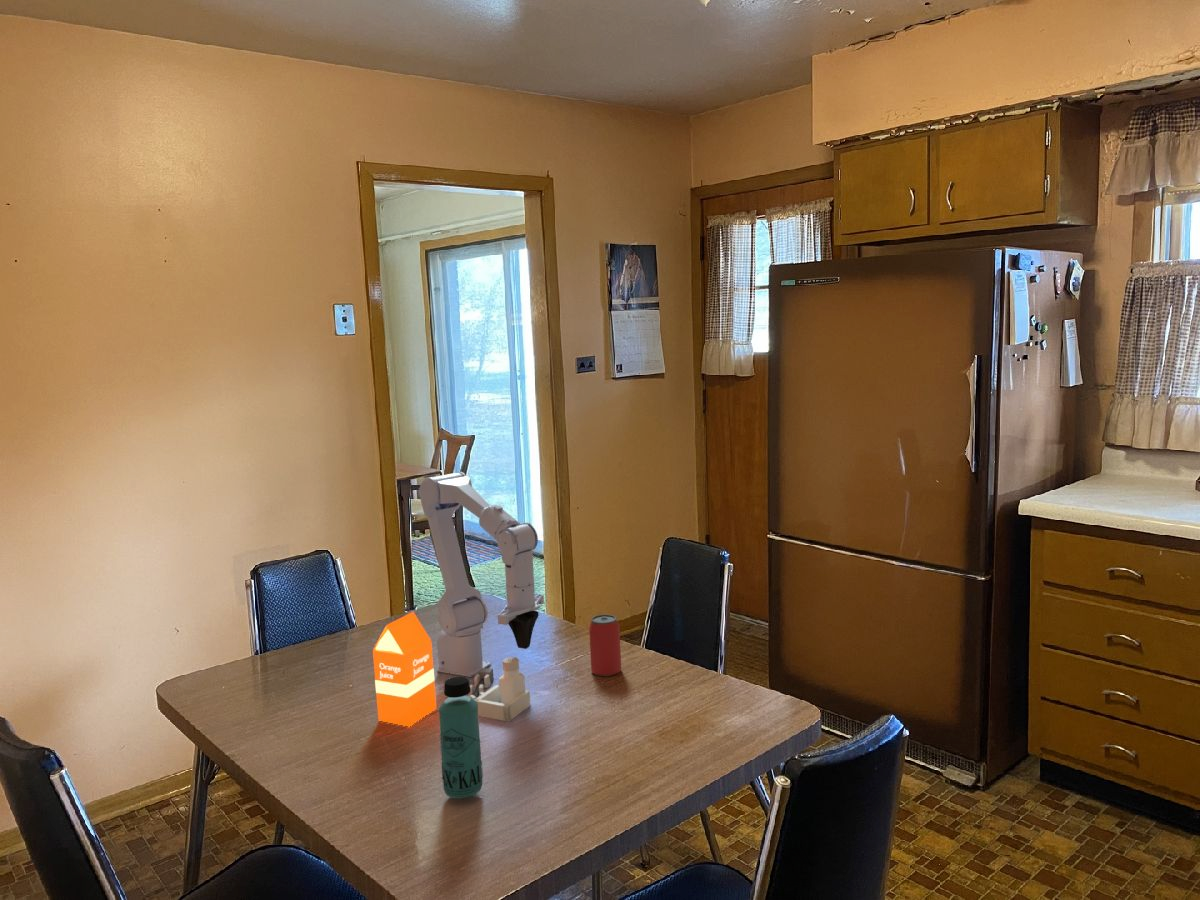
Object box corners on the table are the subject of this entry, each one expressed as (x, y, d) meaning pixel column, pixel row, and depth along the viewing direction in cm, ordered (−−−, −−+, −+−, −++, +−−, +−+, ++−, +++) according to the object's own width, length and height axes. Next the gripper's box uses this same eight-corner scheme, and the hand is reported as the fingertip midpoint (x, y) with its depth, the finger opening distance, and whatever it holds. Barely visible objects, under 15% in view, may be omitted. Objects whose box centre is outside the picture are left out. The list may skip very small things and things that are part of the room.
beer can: (622, 665, 194) (620, 613, 192) (620, 677, 187) (617, 623, 186) (592, 665, 194) (590, 613, 193) (589, 677, 188) (587, 623, 186)
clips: (465, 709, 175) (464, 699, 174) (471, 684, 187) (470, 674, 187) (487, 708, 175) (486, 697, 175) (491, 682, 188) (490, 672, 187)
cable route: (469, 709, 174) (468, 698, 174) (479, 678, 190) (479, 668, 190) (484, 709, 174) (483, 697, 174) (493, 678, 190) (493, 667, 190)
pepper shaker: (511, 699, 178) (508, 655, 177) (527, 703, 176) (524, 658, 175) (499, 707, 175) (496, 662, 174) (515, 711, 173) (512, 665, 172)
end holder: (474, 714, 172) (473, 700, 172) (497, 698, 179) (496, 685, 179) (508, 721, 168) (507, 706, 168) (530, 705, 175) (529, 690, 175)
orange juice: (437, 708, 176) (430, 613, 173) (410, 727, 168) (402, 627, 165) (405, 703, 179) (398, 609, 176) (377, 721, 171) (369, 623, 168)
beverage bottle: (445, 788, 145) (436, 673, 142) (485, 785, 145) (478, 670, 142) (441, 809, 138) (432, 689, 135) (483, 806, 139) (475, 686, 136)
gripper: (517, 595, 170) (521, 662, 172) (554, 575, 183) (558, 637, 185) (487, 592, 173) (491, 657, 175) (526, 572, 186) (529, 633, 188)
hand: (523, 647), depth 180 cm, fingers closed
